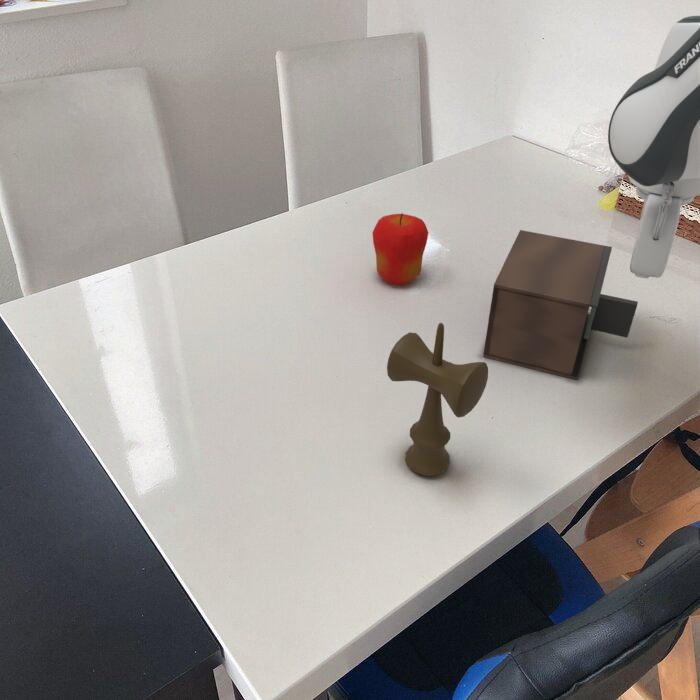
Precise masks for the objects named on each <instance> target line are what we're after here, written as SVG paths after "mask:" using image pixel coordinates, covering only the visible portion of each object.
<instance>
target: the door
mask: <svg viewBox="0 0 700 700" xmlns="http://www.w3.org/2000/svg"><path fill="white" fill-rule="evenodd" d="M638 304H639V301H637V300H632V299H628V298H623V297H617V296H613V295H608V294H603V293H601V294H600V298H599V302H598V306H597V308H592V307H590V312H589V314H590V315H589V319H588V323H587V327H586V331H585V335H584V339H588V340H589V337H590V333H591V331H595V332H600V333H604V334H609V335H613V336H618V337H623V338H628V336H629V335H630V330H631V328H632V324H633V322H634V321H633V320H634V318H635V314H636V311H637V308H638Z"/></svg>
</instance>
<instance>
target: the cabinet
mask: <svg viewBox="0 0 700 700" xmlns="http://www.w3.org/2000/svg"><path fill="white" fill-rule="evenodd" d="M612 248H613V246H609V245H604V244H598V243H592V242H588V241H581V240H577V239H571V238H566V237H560V236H556V235H549V234H546V233H545V234H544V233H539V232H534V231H530V230H529V231H528V230H524V229H523V230H522V229H519V231H518V234H517V236H516V238H515V239H514V242H513V244H512V246H511V248H510V250H509V252H508V254H507V256H506V259H505V261H504V263H503V265H502V266H501V268H500V271H499V273H498V275H497V277H496V279H495V281H494V283H493V290H492V294H491V302H490V308H489V314H488V320H487V326H486V327H487V328H486V334H485V341H484V348H483V352H482V353H483V354H482V357H483V358H486V359H490V360H493V361H494V360H495V361H499V362H503V363H506V364H510V365H515V366H518V367H523V368H527V369H531V370H534V371H539V372H543V373H546V374H551V375H555V376H558V377H563V378H567V379H571V380H575V381H578V380H579V376H580V372H581V368H582V364H583V360H584V356H585V353H586V348H587V345H588V340H589V338H588V339H584V335H585V331H586V327H587V323H588V319H589V315H590V313H589V310H590V308H597V306H598V302H599V298H600V294H602V290H603V285H604V281H605V277H606V273H607V270H608V265H609V261H610V257H611V253H612Z"/></svg>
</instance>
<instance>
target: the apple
mask: <svg viewBox="0 0 700 700" xmlns="http://www.w3.org/2000/svg"><path fill="white" fill-rule="evenodd" d="M371 234H372V243H373V248H374V252H375V261H376V272H377V274H378V275H379V276H380V278H382V279H383V280H384V281H385V282H386V283H387V284H389V285H393V286H406V285H408V284H410V283H411V282H413V281H414V280H415V279H417V277H418V276H420V275H421V271H422V264H423V257H424V253H425V249H426V246H427V242H428V237H429V230H428V227H427V224H426V223H425V222H424V220H423V219H421V218H419V217H418V216H414V215H410V214H406V213H403V212H401V213H393V214H392V213H391V214H387V215H383V216H382V217H380V219H378V221H377V222H376V224H375V226H374V228H373V230H372V233H371Z"/></svg>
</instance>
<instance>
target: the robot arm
mask: <svg viewBox="0 0 700 700" xmlns="http://www.w3.org/2000/svg"><path fill="white" fill-rule="evenodd" d="M656 60H657V61H656V64H655V67H654V70H652V71H650V72H648V73H646V74H644V75H642V76H640V77H639V78H638V79H637V80H636V81H635V82H634V83H633V84H631V86H630V87H629V88H628V89H627V90H626V91H625V93H624V94H623V95H622V96H621V98H620V99H619V100H618V103H617V104H616V106H615V108H614V110H613V112H612V114H611V116H610V120H609V123H608V129H607V142H608V143H607V144H608V149H609V152H610V155H611V157H612V158H613V160H614V162H615V163H616V165H617V166H618V167H619V168H620V169H621V170H622V171H623V172H624V173H625V174H626V175H627V176H628V177H627V178H628V180H629V182H630V183H631V184H632V185H633V186H635V187H636V188H635V193H636V194H637V196H638V197H639V198H640V199H642V200H643V205H642V209H641V214H640V218H639V223H638V228H637V231H636V236H635V241H634V245H633V250H632V254H631V258H630V263H629V271H630V272H631V273H632V274H634V276H635V277H637V278H641V279H649V278H656V279H657V278H661V277H662V276H663V275H664V273H665V271H666V268H667V264H668V261H669V259H670V254H671V251H672V247H673V244H674V241H675V237H676V233H677V229H678V226H679V222H680V216H681V207H683V206H685V205H688V204H690V203H692V202H693V201H694V198H695V197H696V196H699V195H700V15H689V16H686V17H683V18H681V19H680V20H678V21H676V22H675V23H673V24H672V26H671V28H670V29H669V32H668V33H667V35H666V37H665V39H664V42H663V44H662V47H661V49H660V52H659V55H658V58H657V59H656Z"/></svg>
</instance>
